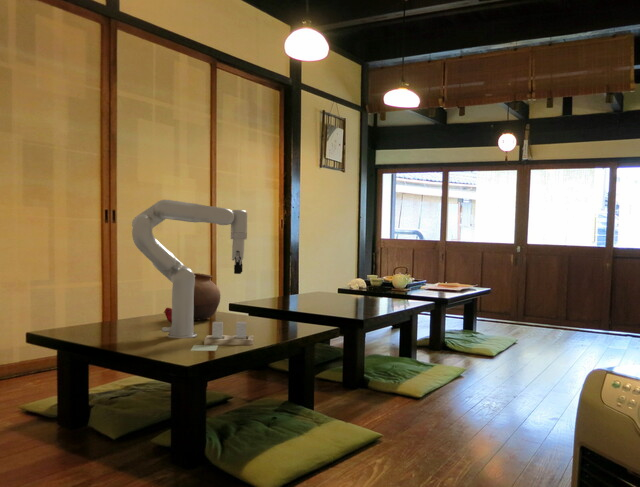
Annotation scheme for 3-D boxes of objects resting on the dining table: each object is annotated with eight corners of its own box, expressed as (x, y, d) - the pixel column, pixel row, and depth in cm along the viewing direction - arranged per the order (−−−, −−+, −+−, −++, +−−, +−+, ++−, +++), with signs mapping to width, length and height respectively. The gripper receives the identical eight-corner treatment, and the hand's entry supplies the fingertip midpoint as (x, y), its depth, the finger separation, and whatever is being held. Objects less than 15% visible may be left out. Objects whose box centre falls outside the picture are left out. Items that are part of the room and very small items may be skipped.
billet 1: (212, 344, 228) (212, 323, 228) (213, 342, 232) (213, 321, 232) (221, 344, 229) (222, 323, 228) (222, 342, 233) (222, 321, 232)
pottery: (167, 319, 287) (167, 272, 287) (201, 314, 306) (201, 270, 305) (195, 325, 274) (196, 275, 273) (229, 319, 292) (229, 273, 291)
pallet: (204, 346, 225) (204, 340, 225) (206, 341, 235) (207, 335, 235) (252, 346, 227) (252, 340, 227) (253, 341, 237) (253, 335, 237)
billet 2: (236, 344, 229) (236, 323, 229) (236, 342, 233) (236, 321, 233) (245, 344, 230) (246, 323, 229) (245, 342, 233) (246, 321, 233)
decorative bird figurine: (161, 328, 263) (161, 307, 263) (191, 323, 277) (192, 304, 276) (164, 328, 261) (165, 308, 261) (195, 324, 275) (195, 304, 275)
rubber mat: (190, 352, 214) (190, 350, 214) (193, 346, 224) (193, 345, 224) (216, 352, 214) (216, 350, 214) (218, 346, 224) (218, 345, 224)
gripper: (232, 236, 261) (231, 271, 261) (229, 236, 244) (228, 274, 244) (247, 236, 262) (247, 271, 262) (246, 236, 244) (245, 274, 245)
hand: (238, 272), depth 253 cm, fingers open, 9 cm apart
